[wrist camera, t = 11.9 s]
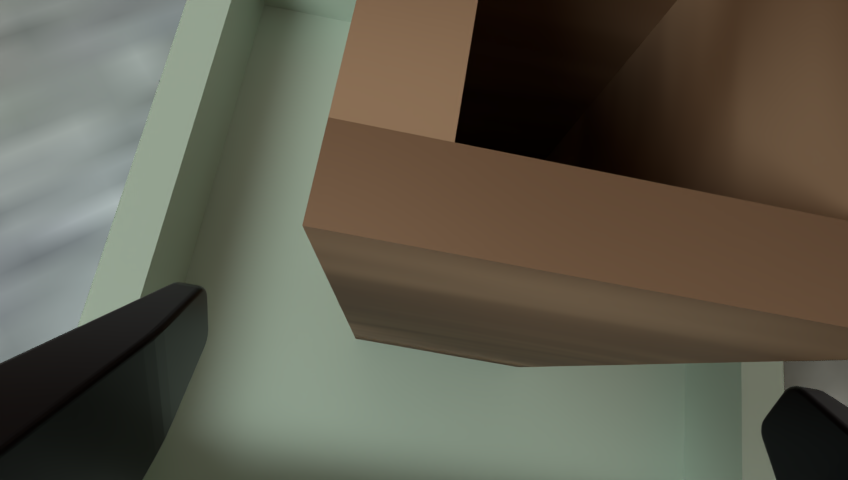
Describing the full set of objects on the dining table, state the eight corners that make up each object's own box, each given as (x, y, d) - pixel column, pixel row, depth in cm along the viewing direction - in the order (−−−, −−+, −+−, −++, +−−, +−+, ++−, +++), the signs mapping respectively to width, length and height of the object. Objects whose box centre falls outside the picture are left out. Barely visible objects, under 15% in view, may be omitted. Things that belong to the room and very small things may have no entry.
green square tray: (699, 608, 15) (792, 675, 12) (85, 521, 14) (-4, 568, 11) (705, 84, 20) (773, 25, 17) (245, -10, 19) (217, -93, 16)
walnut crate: (518, 367, 15) (1002, 356, 4) (355, 338, 15) (302, 226, 3) (538, 185, 17) (923, -240, 5) (391, 156, 17) (442, -362, 5)
